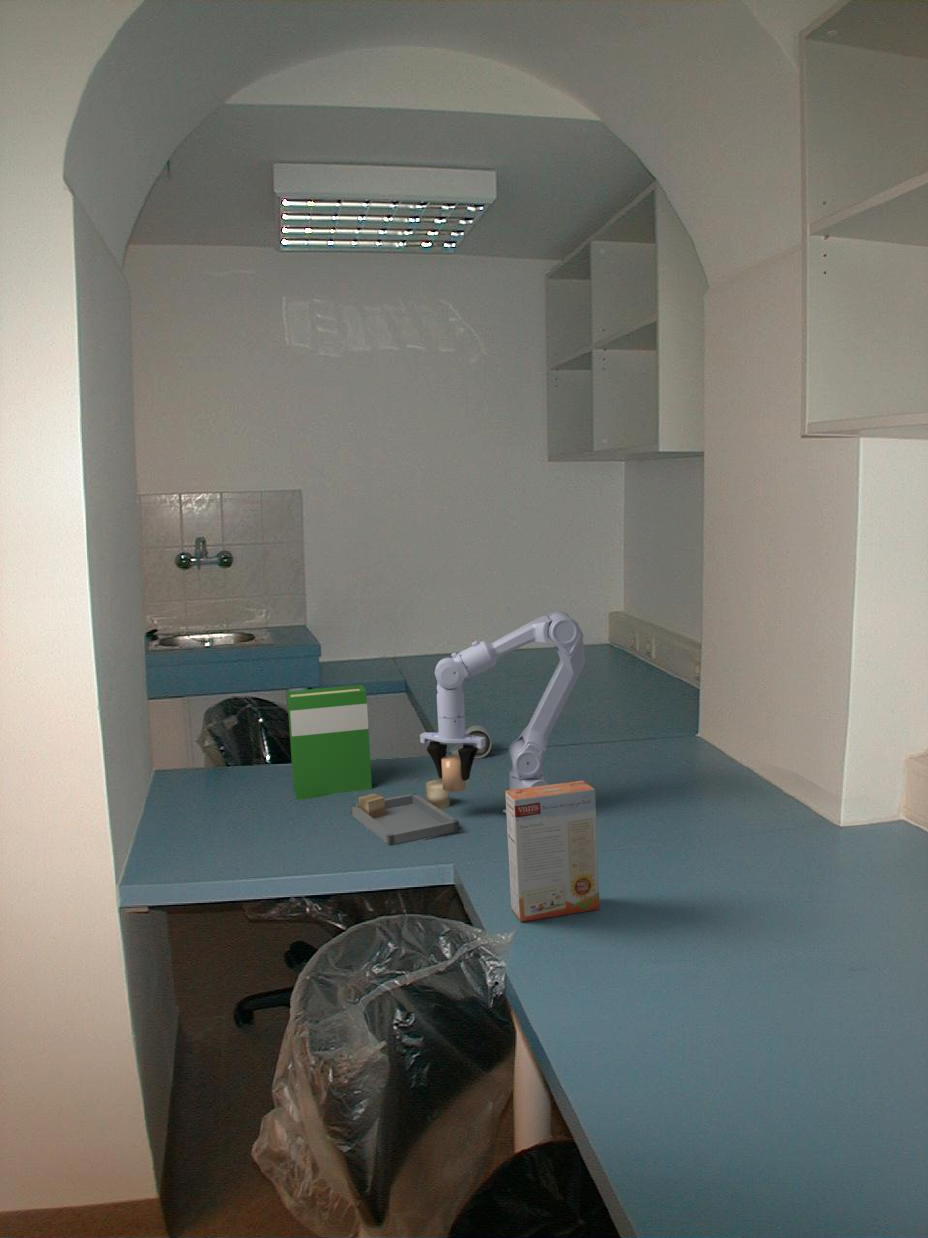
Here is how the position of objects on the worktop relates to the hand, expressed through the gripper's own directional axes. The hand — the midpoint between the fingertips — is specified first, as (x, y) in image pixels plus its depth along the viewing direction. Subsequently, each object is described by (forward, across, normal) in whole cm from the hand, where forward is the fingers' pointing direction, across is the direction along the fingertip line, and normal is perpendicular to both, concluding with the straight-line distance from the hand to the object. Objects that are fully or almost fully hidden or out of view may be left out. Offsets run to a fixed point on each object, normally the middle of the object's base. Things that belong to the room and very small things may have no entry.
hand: (454, 778), depth 215 cm
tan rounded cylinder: (+2, 0, 0) cm, 2 cm away
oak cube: (+8, +17, +6) cm, 20 cm away
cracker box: (+9, -36, +35) cm, 51 cm away
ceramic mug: (+9, +19, -46) cm, 50 cm away
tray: (+9, +9, +7) cm, 14 cm away
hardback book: (+9, +37, -8) cm, 39 cm away
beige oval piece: (+9, +7, -6) cm, 13 cm away
